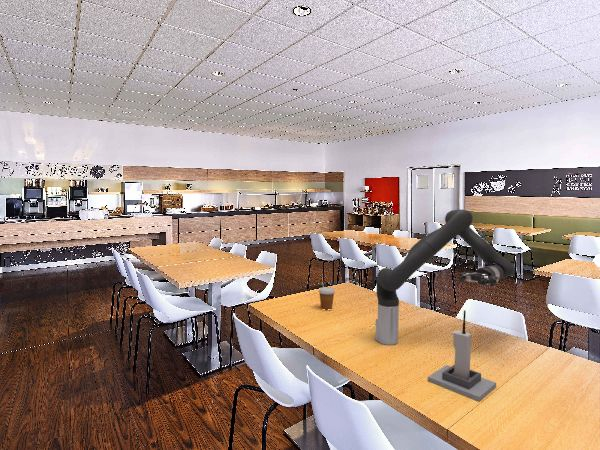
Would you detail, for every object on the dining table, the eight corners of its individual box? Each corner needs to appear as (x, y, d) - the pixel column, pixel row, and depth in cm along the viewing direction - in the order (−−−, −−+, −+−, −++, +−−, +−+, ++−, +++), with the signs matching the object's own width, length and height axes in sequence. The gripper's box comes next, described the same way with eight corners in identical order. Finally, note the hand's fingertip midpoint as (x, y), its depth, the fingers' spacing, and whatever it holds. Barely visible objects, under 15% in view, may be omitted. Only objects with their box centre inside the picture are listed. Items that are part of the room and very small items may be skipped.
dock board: (427, 380, 133) (427, 370, 133) (446, 368, 143) (446, 358, 142) (479, 401, 120) (479, 389, 120) (496, 386, 129) (496, 375, 129)
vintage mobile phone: (455, 374, 135) (457, 307, 133) (469, 379, 131) (472, 310, 130) (451, 378, 132) (453, 309, 130) (465, 383, 129) (468, 312, 127)
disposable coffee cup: (317, 311, 214) (317, 290, 213) (319, 306, 223) (319, 286, 222) (334, 312, 212) (334, 291, 211) (335, 307, 221) (335, 287, 220)
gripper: (470, 264, 166) (453, 269, 155) (505, 269, 155) (489, 274, 145) (470, 281, 167) (453, 286, 156) (504, 286, 156) (488, 293, 145)
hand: (470, 280), depth 150 cm, fingers open, 8 cm apart
